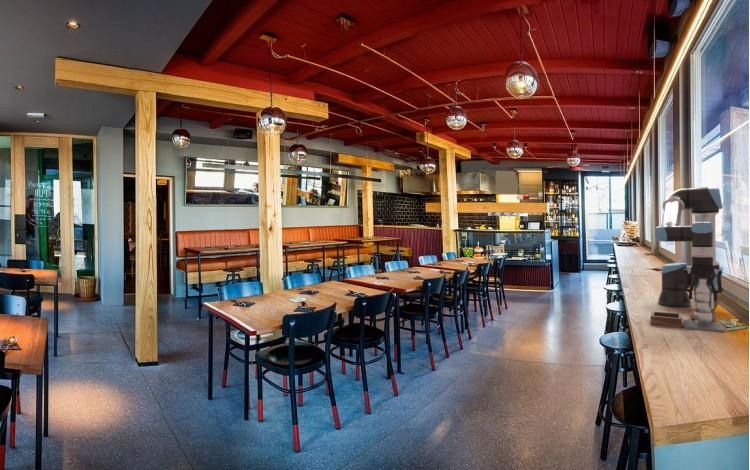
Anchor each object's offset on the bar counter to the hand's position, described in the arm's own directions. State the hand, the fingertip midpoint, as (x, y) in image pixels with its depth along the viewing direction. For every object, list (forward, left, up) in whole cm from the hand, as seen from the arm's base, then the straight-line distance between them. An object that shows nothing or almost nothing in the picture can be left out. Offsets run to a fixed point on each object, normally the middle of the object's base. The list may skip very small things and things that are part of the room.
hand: (702, 307), depth 189 cm
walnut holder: (0, -14, -9) cm, 16 cm away
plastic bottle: (0, 0, -7) cm, 7 cm away
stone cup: (-16, +1, -9) cm, 18 cm away
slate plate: (0, 0, -9) cm, 9 cm away
